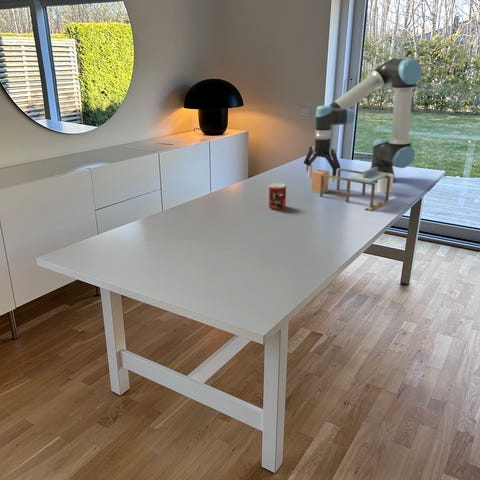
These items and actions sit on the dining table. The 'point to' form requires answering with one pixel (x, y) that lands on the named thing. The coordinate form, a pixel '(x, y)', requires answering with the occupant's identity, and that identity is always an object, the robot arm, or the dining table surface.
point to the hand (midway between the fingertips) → (320, 179)
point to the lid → (370, 175)
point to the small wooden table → (342, 195)
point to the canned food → (277, 196)
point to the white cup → (385, 184)
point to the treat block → (319, 180)
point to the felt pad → (318, 192)
